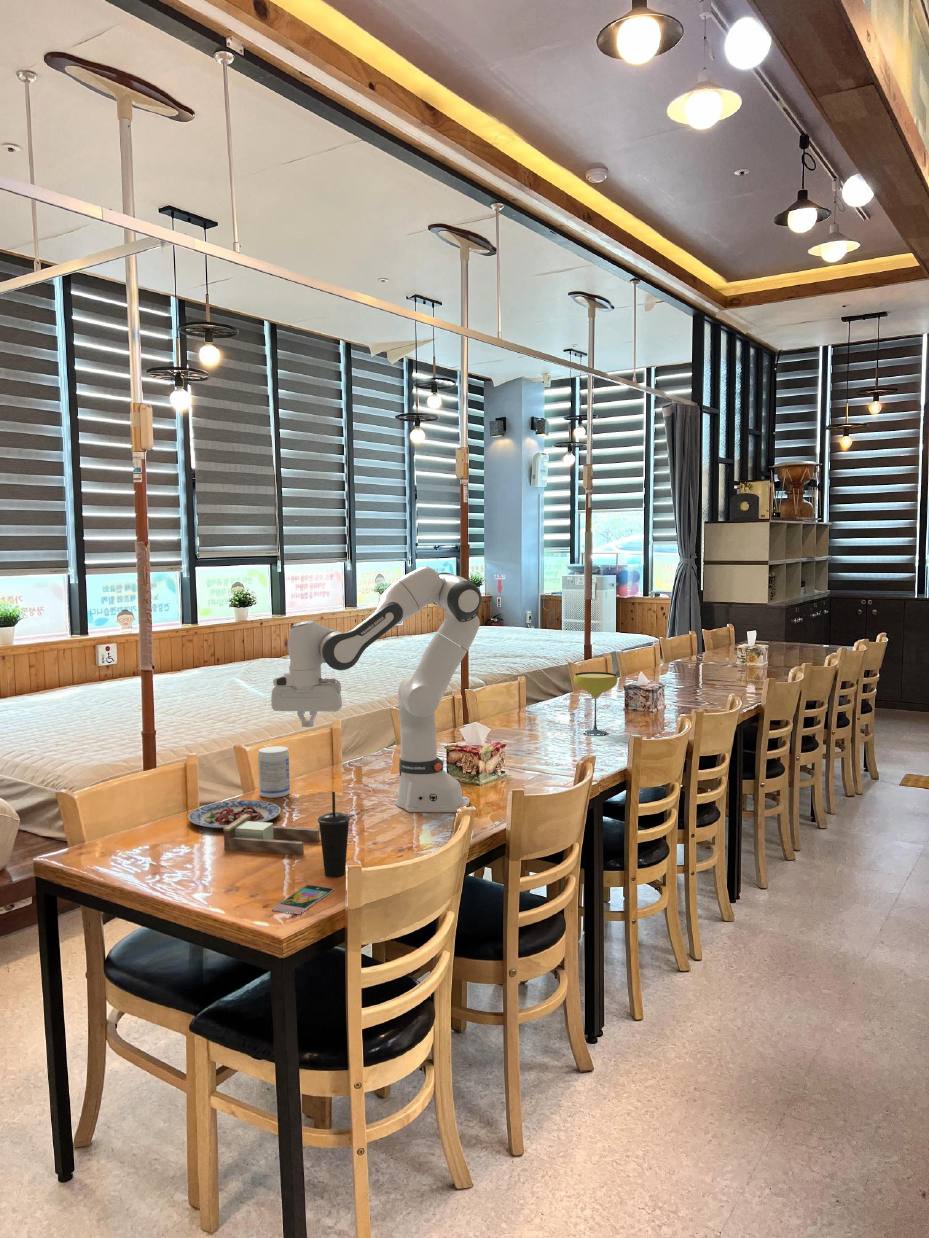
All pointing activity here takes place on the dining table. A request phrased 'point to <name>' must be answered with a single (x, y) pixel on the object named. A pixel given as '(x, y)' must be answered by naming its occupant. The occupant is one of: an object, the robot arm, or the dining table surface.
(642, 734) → the dining table surface
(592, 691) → the cocktail glass
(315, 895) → the smartphone
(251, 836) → the pale green block
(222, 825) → the ceramic plate
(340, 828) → the drinking cup
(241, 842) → the bay
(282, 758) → the supplement tub
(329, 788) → the dining table surface
